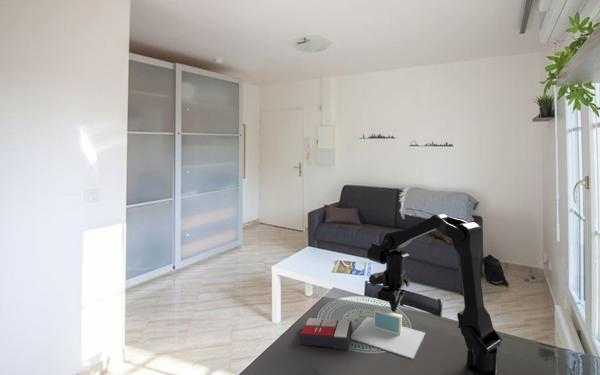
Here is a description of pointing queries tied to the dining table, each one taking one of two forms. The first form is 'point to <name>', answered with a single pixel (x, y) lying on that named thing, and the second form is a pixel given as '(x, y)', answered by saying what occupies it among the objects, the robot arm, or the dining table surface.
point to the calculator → (327, 333)
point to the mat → (389, 338)
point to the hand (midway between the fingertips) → (393, 311)
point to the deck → (388, 321)
